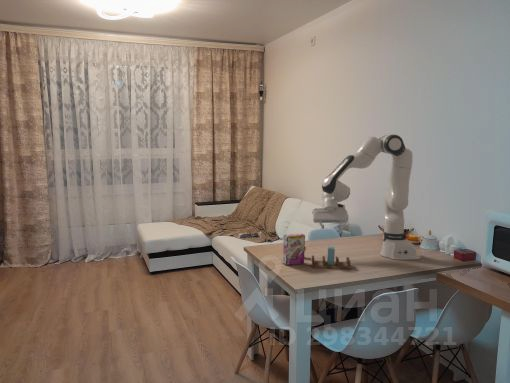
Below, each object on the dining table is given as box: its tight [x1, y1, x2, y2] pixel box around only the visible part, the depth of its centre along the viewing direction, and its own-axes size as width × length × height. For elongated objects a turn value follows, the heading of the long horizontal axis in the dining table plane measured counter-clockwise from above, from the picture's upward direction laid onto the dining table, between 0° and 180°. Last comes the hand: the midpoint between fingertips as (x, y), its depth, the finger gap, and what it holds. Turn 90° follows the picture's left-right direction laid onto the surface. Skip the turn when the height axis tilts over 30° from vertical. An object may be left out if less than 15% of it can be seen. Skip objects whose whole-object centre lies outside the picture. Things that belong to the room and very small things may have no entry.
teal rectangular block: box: [326, 246, 336, 265], centre depth 223 cm, size 4×4×9 cm
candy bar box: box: [282, 232, 306, 266], centre depth 226 cm, size 11×5×16 cm, turn 111°
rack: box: [311, 255, 351, 271], centre depth 224 cm, size 20×10×4 cm, turn 83°
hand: (331, 228), depth 236 cm, fingers open, 8 cm apart
